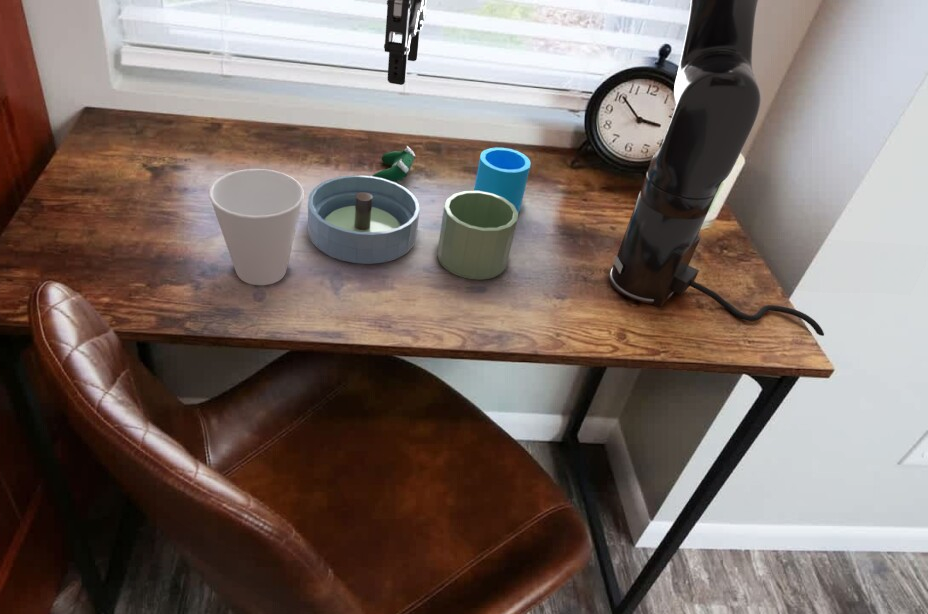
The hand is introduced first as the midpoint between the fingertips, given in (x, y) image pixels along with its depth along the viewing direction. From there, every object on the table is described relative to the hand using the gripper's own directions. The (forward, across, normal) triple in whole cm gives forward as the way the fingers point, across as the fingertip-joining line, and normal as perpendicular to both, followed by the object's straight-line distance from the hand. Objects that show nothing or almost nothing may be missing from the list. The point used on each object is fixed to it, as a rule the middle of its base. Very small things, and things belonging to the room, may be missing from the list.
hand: (403, 70), depth 91 cm
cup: (+25, -15, +15) cm, 33 cm away
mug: (+25, +16, -15) cm, 33 cm away
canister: (+25, -2, -13) cm, 28 cm away
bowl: (+25, -2, +4) cm, 25 cm away
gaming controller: (+25, +17, +3) cm, 31 cm away
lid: (+24, -2, +4) cm, 24 cm away
